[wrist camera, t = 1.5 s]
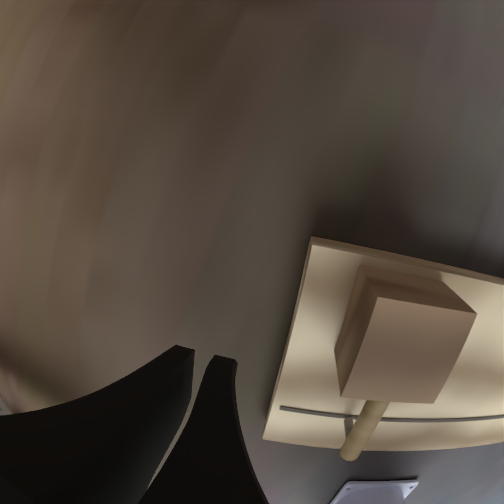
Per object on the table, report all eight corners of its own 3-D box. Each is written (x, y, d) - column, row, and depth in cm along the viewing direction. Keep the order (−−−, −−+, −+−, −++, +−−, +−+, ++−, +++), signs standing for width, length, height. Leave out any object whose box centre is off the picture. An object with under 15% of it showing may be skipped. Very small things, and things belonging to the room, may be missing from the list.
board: (545, 419, 18) (553, 430, 16) (265, 419, 21) (261, 439, 19) (604, 305, 14) (615, 313, 12) (310, 235, 17) (312, 245, 15)
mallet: (379, 424, 17) (389, 469, 14) (308, 418, 18) (308, 465, 14) (443, 281, 14) (477, 313, 11) (359, 264, 15) (377, 296, 11)
